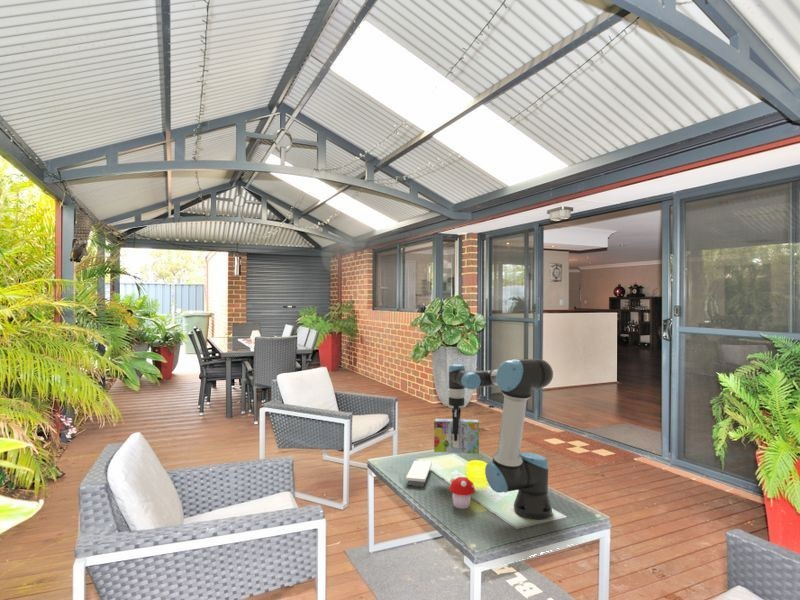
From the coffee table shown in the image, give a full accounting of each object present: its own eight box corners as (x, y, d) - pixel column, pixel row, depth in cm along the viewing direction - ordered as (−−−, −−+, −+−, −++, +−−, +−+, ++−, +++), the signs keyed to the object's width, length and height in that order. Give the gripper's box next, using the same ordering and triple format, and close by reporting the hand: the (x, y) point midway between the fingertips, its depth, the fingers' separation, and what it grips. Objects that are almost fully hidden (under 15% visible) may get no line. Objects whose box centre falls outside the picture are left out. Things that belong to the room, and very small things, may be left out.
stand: (424, 487, 223) (425, 479, 223) (405, 486, 224) (405, 477, 224) (431, 469, 246) (431, 461, 246) (414, 468, 248) (414, 460, 248)
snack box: (478, 450, 233) (478, 419, 233) (478, 454, 227) (479, 422, 227) (434, 448, 235) (434, 417, 235) (433, 452, 230) (434, 420, 230)
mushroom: (450, 499, 211) (450, 471, 211) (475, 501, 209) (475, 473, 209) (447, 509, 200) (448, 480, 200) (474, 512, 198) (475, 482, 198)
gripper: (450, 393, 242) (450, 439, 241) (446, 400, 223) (446, 450, 223) (465, 393, 240) (465, 440, 240) (463, 401, 222) (462, 451, 221)
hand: (456, 445), depth 231 cm, fingers closed on snack box, 6 cm apart
